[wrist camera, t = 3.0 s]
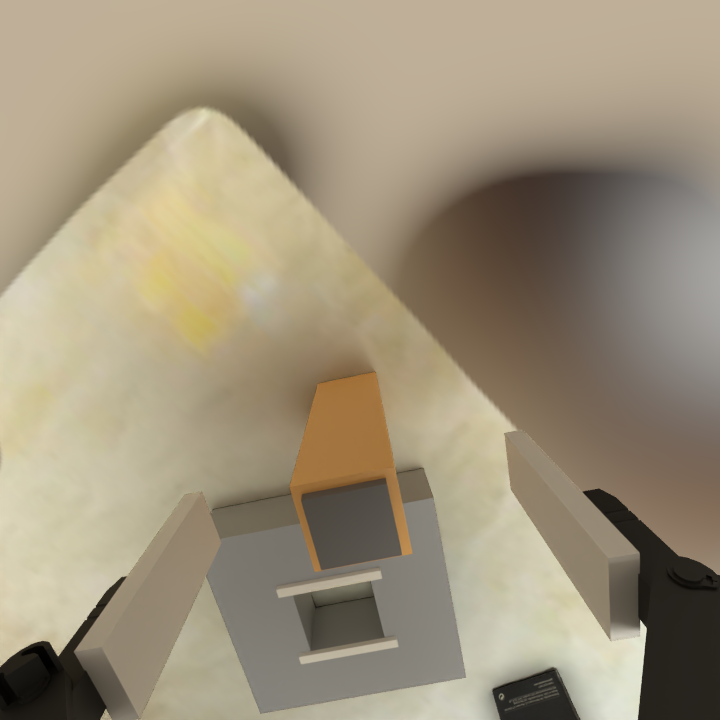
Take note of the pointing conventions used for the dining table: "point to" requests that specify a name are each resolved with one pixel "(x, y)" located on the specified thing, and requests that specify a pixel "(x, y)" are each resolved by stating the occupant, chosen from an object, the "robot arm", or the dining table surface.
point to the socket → (333, 607)
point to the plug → (348, 478)
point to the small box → (536, 699)
